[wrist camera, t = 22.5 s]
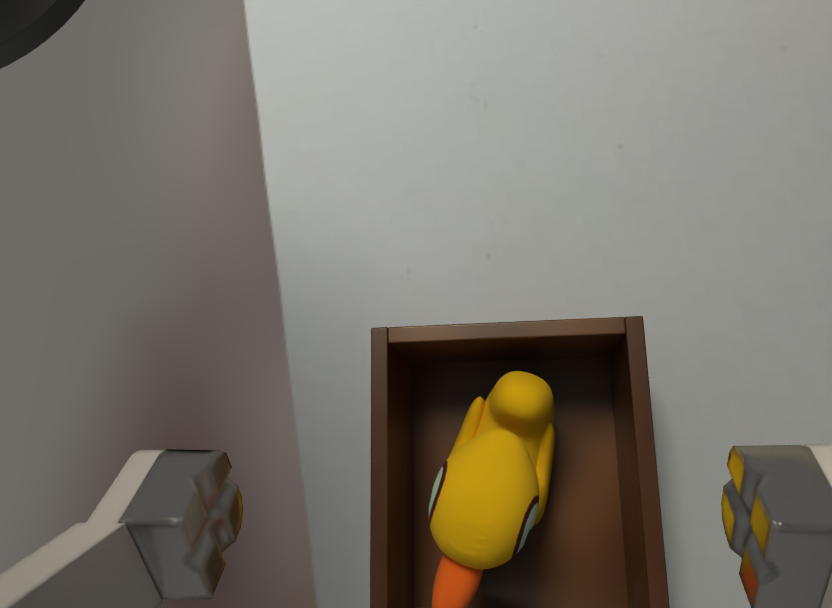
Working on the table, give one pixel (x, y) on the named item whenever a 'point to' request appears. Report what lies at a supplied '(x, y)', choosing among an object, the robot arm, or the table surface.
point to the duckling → (492, 485)
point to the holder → (571, 470)
